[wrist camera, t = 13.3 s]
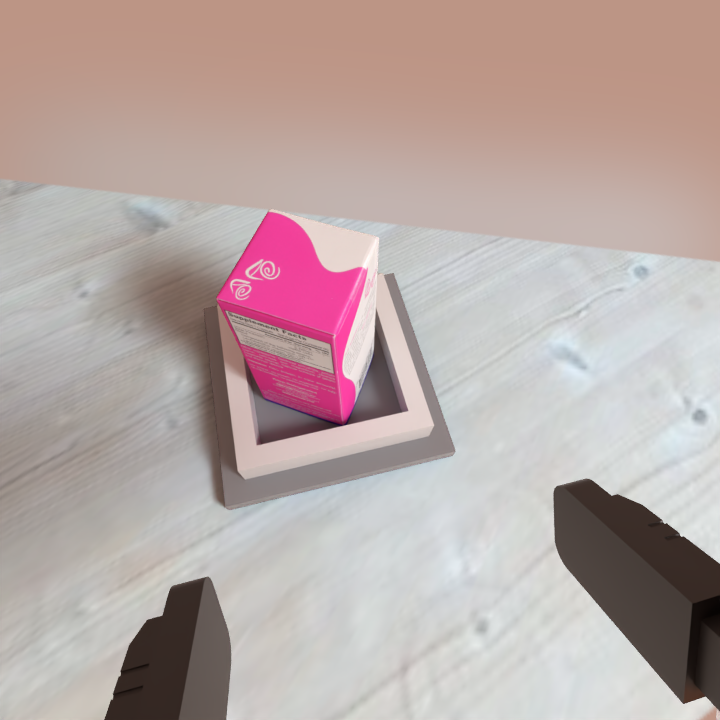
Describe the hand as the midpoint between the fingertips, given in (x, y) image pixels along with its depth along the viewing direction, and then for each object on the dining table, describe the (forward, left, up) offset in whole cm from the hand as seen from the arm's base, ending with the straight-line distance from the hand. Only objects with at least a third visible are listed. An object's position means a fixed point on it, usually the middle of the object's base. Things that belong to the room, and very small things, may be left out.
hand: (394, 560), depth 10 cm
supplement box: (0, +13, -16) cm, 21 cm away
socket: (0, +13, -17) cm, 21 cm away
